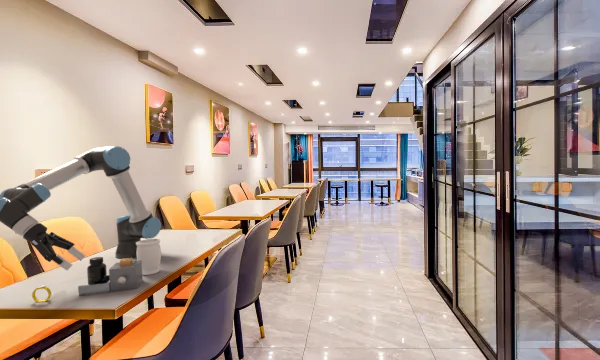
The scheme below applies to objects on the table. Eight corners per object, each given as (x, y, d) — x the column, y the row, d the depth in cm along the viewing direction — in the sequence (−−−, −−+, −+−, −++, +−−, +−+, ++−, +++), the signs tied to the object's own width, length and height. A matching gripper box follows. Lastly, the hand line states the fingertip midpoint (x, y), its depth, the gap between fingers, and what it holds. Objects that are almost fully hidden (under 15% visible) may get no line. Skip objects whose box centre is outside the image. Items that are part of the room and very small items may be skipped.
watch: (31, 304, 126) (29, 289, 125) (36, 301, 128) (34, 286, 128) (49, 301, 127) (46, 286, 126) (53, 298, 129) (51, 283, 129)
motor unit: (90, 285, 143) (88, 260, 142) (143, 279, 148) (141, 255, 147) (76, 298, 129) (74, 270, 129) (135, 290, 134) (133, 263, 134)
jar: (146, 277, 151) (144, 244, 150) (133, 274, 156) (130, 242, 155) (166, 270, 160) (164, 239, 159) (153, 267, 165) (151, 237, 164)
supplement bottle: (109, 286, 138) (108, 257, 138) (90, 291, 133) (88, 261, 133) (104, 282, 143) (102, 255, 143) (86, 287, 138) (84, 258, 138)
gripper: (39, 230, 143) (81, 261, 147) (4, 244, 119) (55, 280, 123) (52, 217, 144) (94, 248, 148) (20, 227, 120) (71, 264, 124)
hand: (77, 262), depth 136 cm, fingers open, 13 cm apart
